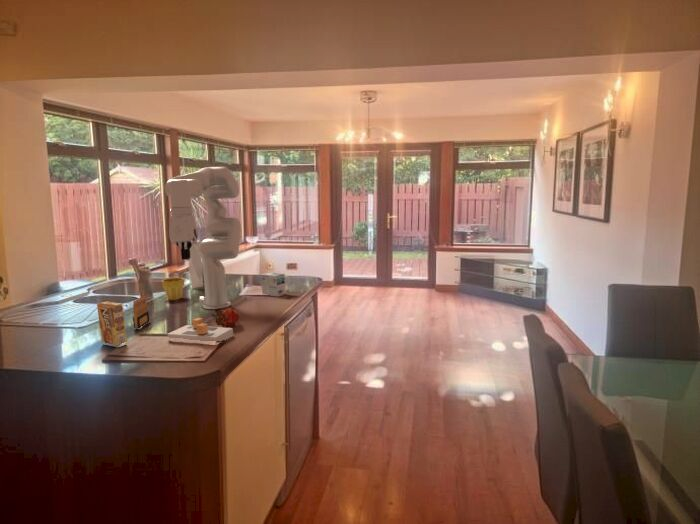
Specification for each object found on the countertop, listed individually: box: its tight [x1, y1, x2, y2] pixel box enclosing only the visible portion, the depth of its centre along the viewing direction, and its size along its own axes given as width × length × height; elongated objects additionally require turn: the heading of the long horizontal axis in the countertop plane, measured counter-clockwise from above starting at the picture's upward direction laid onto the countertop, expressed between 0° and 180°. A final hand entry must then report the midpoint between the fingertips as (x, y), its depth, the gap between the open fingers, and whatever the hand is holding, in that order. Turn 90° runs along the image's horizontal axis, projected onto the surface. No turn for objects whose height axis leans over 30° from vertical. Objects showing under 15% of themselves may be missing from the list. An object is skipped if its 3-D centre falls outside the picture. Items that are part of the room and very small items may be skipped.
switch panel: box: [167, 324, 234, 341], centre depth 174 cm, size 20×11×3 cm, turn 72°
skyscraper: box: [188, 239, 205, 290], centre depth 264 cm, size 8×8×28 cm
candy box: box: [96, 301, 128, 345], centre depth 169 cm, size 9×4×15 cm, turn 61°
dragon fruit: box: [214, 306, 240, 328], centre depth 188 cm, size 8×8×12 cm
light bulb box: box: [260, 272, 287, 297], centre depth 242 cm, size 11×7×11 cm, turn 58°
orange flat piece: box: [132, 294, 150, 329], centre depth 192 cm, size 11×2×12 cm, turn 0°
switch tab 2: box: [197, 322, 209, 334], centre depth 170 cm, size 2×3×3 cm
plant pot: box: [161, 277, 185, 301], centre depth 241 cm, size 10×10×10 cm
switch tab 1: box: [191, 317, 204, 328], centre depth 178 cm, size 2×3×3 cm
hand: (186, 258), depth 188 cm, fingers closed
